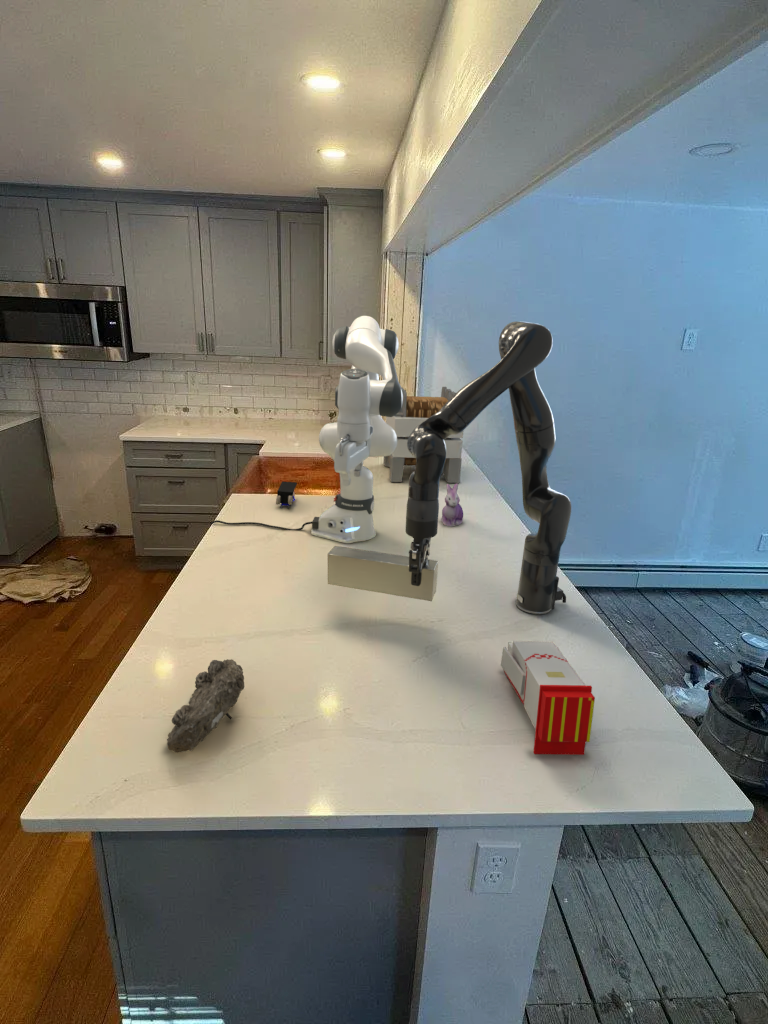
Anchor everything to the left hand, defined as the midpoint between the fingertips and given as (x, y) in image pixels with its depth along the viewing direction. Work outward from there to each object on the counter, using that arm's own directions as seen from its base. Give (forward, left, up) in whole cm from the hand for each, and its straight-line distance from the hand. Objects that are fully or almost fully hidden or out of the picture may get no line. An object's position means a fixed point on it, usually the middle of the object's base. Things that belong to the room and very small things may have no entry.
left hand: (352, 480), depth 158 cm
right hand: (+25, -21, -16) cm, 36 cm away
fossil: (-4, -67, -29) cm, 73 cm away
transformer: (-5, +117, -29) cm, 120 cm away
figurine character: (-44, +50, -29) cm, 72 cm away
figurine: (+21, +55, -29) cm, 66 cm away
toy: (+55, -43, -29) cm, 76 cm away
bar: (+15, -21, -20) cm, 33 cm away
